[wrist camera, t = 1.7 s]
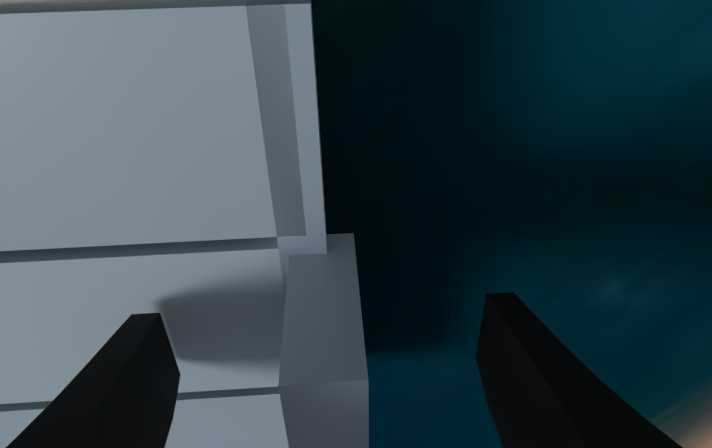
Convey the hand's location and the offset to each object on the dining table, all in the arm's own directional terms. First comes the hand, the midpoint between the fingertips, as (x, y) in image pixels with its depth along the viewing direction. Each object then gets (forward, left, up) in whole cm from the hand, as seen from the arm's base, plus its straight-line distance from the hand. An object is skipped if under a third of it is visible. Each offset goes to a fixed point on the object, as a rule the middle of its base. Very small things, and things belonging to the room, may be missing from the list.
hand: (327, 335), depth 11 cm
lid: (0, +4, -1) cm, 5 cm away
